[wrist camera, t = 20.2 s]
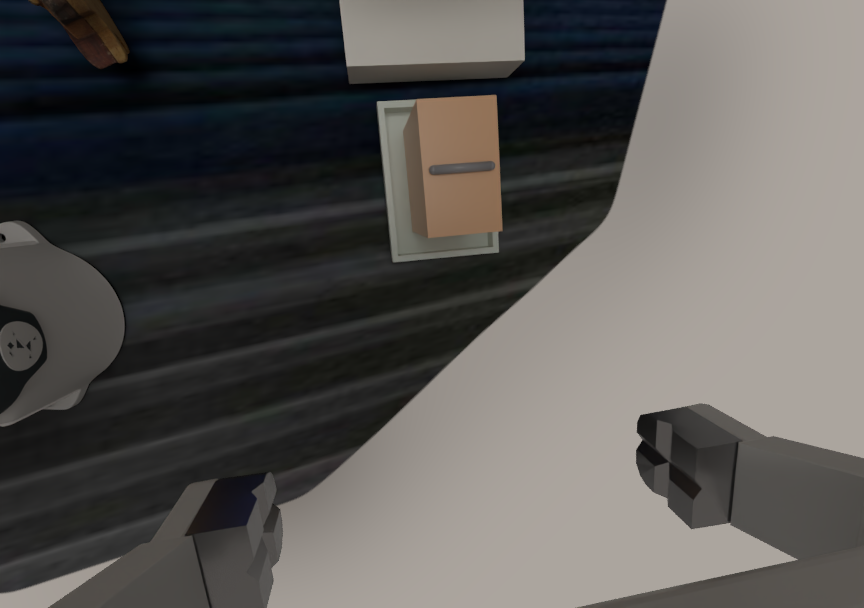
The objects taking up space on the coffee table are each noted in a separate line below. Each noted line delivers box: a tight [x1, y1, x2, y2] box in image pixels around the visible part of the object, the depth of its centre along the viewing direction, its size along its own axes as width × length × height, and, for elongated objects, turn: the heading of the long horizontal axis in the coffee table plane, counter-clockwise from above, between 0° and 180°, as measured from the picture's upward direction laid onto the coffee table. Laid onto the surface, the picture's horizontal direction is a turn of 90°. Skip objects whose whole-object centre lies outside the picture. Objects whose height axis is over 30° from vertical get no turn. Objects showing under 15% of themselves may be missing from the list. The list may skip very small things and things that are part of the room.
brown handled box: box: [403, 95, 503, 238], centre depth 37 cm, size 6×10×13 cm, turn 4°
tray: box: [377, 100, 499, 262], centre depth 43 cm, size 11×15×2 cm
